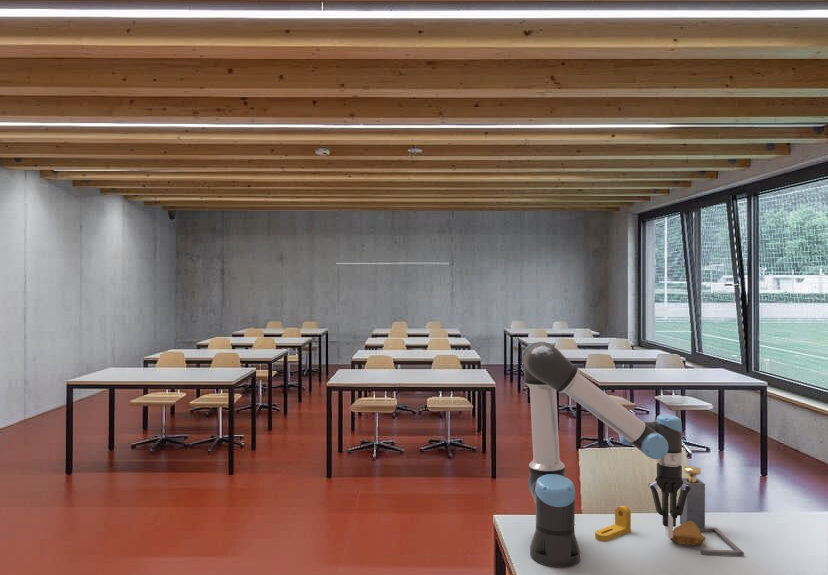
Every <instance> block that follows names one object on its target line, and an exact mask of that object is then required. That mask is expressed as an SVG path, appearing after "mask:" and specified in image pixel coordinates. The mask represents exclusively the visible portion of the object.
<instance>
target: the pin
mask: <svg viewBox="0 0 828 575" xmlns="http://www.w3.org/2000/svg"><path fill="white" fill-rule="evenodd" d="M683 471H684V473H685V474H688V478H689V483H696V478H697V475H701V472H702V469H701V468H700V467H697V466H692V465H691V466H690V465H687V466H684V467H683Z"/></svg>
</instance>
